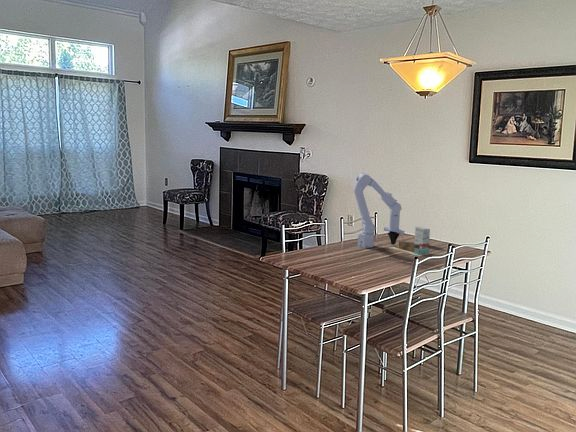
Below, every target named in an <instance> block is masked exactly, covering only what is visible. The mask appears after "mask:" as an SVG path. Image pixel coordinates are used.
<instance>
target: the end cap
mask: <svg viewBox="0 0 576 432" xmlns="http://www.w3.org/2000/svg"><path fill="white" fill-rule="evenodd" d="M429 252H430V248H429V247H421V248H420V249H417V248H414V254H418V255H422V256H425V255H424V254H427V255H430V254H429Z"/></svg>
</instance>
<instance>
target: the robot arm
mask: <svg viewBox="0 0 576 432" xmlns="http://www.w3.org/2000/svg"><path fill="white" fill-rule="evenodd" d="M368 186H369V187H371V188H373V189H374V191H376V192H377V194H379V195H380V196H381V197H380V200H382V202H384V204H385V205H386V206H387V207H388V208H389V209H390V212H389V226H388V227H386V226H385V227H383V231H385V232H388V233H387V235H388V236H389V237H388V238H389V240H390V245H394V246H395V245H396V243H397V240H398V238H399V236H400V235H402V236H403V235H405V230H402V229H400V218H401V211H402V209H403V208H402V204H400V203H399V202H398V200H397V199H395V197H393V194H392V193H390V192H389V191H388V192H387V191H386V192H385V190H384V189H383V188H382V187H381V186H380V184H379V183H378V182H377V181H376V180H375V179H374V178H373V177H371V176H370V175H369V174H366V173H363V172H361V173H360V174H359V175H358V176H357V177H356V178H355V182H354V186H353V192H354V196H355V200H356V204H357V207H358V210H359V213H360V217H361V229H362V231H361V233H360V234H358V237H357V247H359V248H363V249H367V248H373V247H375V231H376V225H375V224H374V223H373V220H372V217H371V215H370V212H369V209H368V205H367V202H366V199H365V195H364V190H365V188H366V187H368Z"/></svg>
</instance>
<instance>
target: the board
mask: <svg viewBox="0 0 576 432" xmlns="http://www.w3.org/2000/svg"><path fill="white" fill-rule="evenodd" d="M388 249H390V250H394V251H398V252H402V253H405V254H410V255H413V256H416V257H421V256H426V255H430V254H431V255H432V254H433V252H430V251H429V254H424V255H418V254H414V252H410V251H407V250H403V249H399V245H396V246H395V245H394V246H391V247H390V246H389V247H388Z"/></svg>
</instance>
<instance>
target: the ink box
mask: <svg viewBox="0 0 576 432" xmlns="http://www.w3.org/2000/svg"><path fill="white" fill-rule="evenodd" d="M430 234H431V228H427V227H424V226H415V228H414V242H413V243H414V244H418V245H420V248H422V247H427V248H429V246H430V237H431V236H430Z"/></svg>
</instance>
